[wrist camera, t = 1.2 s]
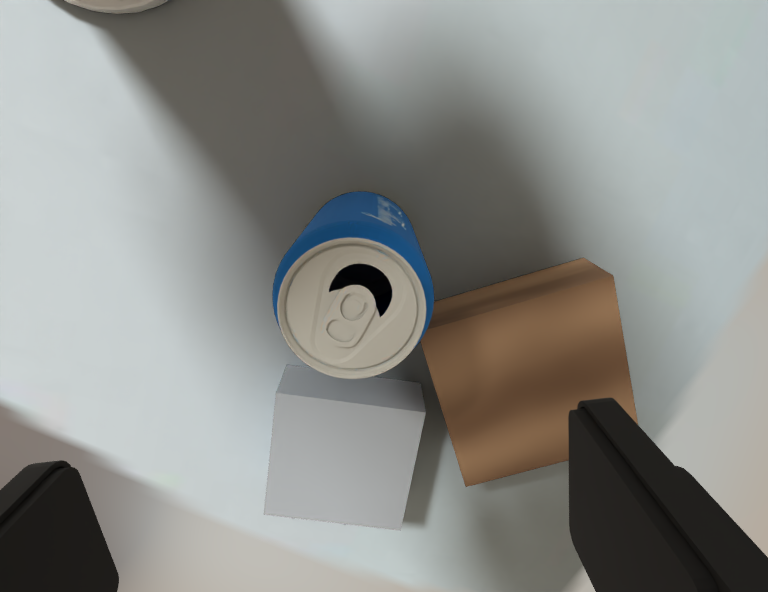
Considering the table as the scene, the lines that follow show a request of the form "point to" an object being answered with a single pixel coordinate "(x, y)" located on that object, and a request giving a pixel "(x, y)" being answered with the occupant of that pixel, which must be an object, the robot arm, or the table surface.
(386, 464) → the grey square block
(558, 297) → the walnut block
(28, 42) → the table surface
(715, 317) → the table surface
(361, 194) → the beverage can
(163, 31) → the table surface
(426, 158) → the table surface
